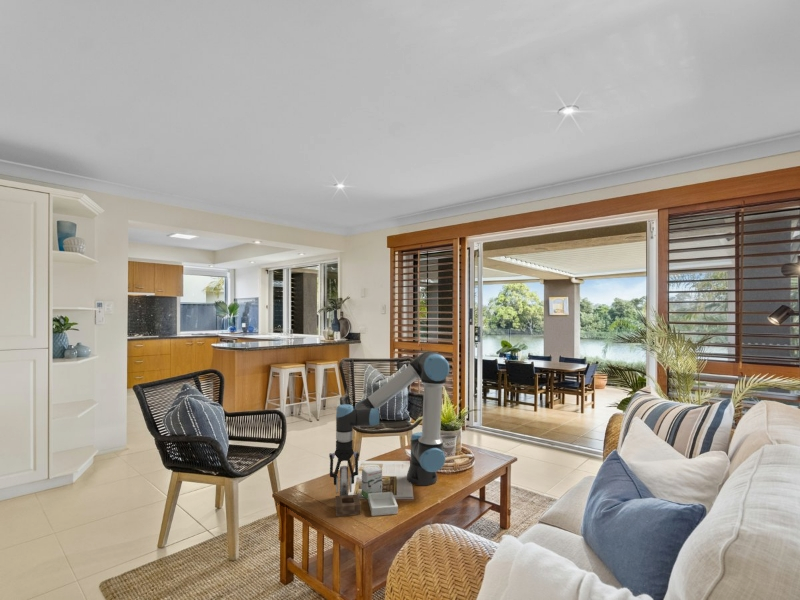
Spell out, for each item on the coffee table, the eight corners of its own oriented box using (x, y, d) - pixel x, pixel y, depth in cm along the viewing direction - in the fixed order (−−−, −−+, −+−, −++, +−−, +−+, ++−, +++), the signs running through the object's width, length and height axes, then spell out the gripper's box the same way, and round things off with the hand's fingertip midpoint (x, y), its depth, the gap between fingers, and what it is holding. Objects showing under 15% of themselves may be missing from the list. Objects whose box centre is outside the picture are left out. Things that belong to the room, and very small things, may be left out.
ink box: (366, 499, 190) (366, 472, 191) (361, 494, 195) (361, 469, 195) (382, 494, 195) (382, 468, 195) (377, 490, 199) (377, 465, 199)
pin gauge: (347, 496, 193) (347, 465, 193) (347, 499, 189) (348, 468, 190) (339, 496, 192) (339, 465, 192) (339, 500, 189) (340, 469, 189)
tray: (392, 498, 191) (392, 491, 191) (397, 513, 177) (398, 506, 177) (367, 500, 189) (367, 493, 189) (371, 515, 175) (371, 508, 175)
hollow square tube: (358, 503, 186) (358, 494, 186) (360, 514, 176) (360, 504, 176) (335, 505, 184) (335, 496, 184) (336, 516, 174) (336, 506, 174)
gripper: (363, 436, 197) (363, 486, 196) (323, 438, 193) (323, 489, 193) (365, 441, 189) (364, 493, 189) (323, 443, 186) (323, 496, 185)
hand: (343, 491), depth 191 cm, fingers open, 5 cm apart
